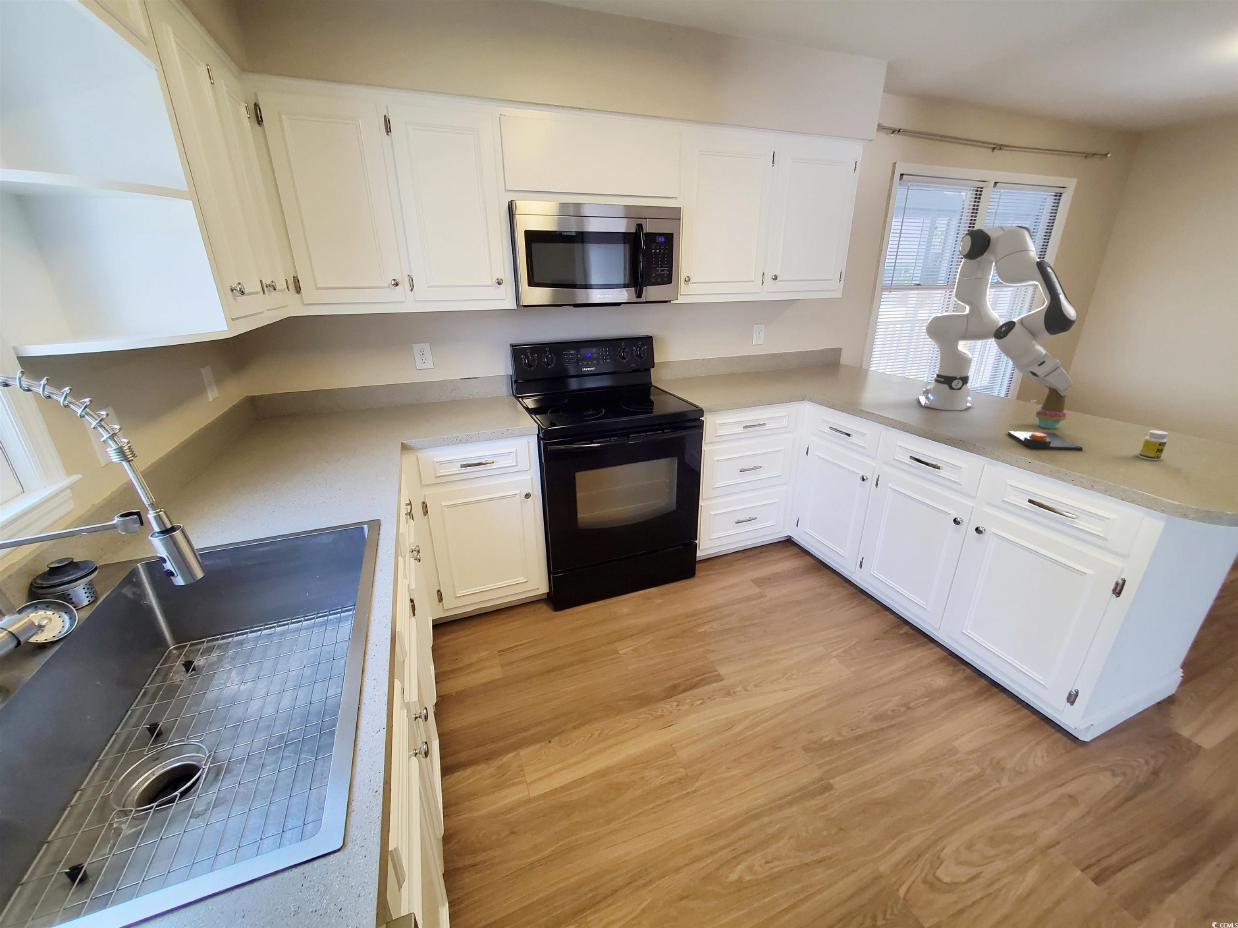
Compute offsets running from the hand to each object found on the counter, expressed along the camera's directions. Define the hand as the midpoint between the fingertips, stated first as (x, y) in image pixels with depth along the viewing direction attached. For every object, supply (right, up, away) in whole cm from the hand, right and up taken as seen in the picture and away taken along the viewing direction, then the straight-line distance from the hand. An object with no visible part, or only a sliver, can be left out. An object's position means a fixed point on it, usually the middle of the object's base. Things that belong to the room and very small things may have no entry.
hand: (1059, 392), depth 165 cm
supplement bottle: (+16, -22, -12) cm, 30 cm away
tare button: (-8, -16, -1) cm, 18 cm away
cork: (0, -6, +2) cm, 6 cm away
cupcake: (+12, -10, +19) cm, 25 cm away
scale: (-2, -17, +4) cm, 17 cm away
